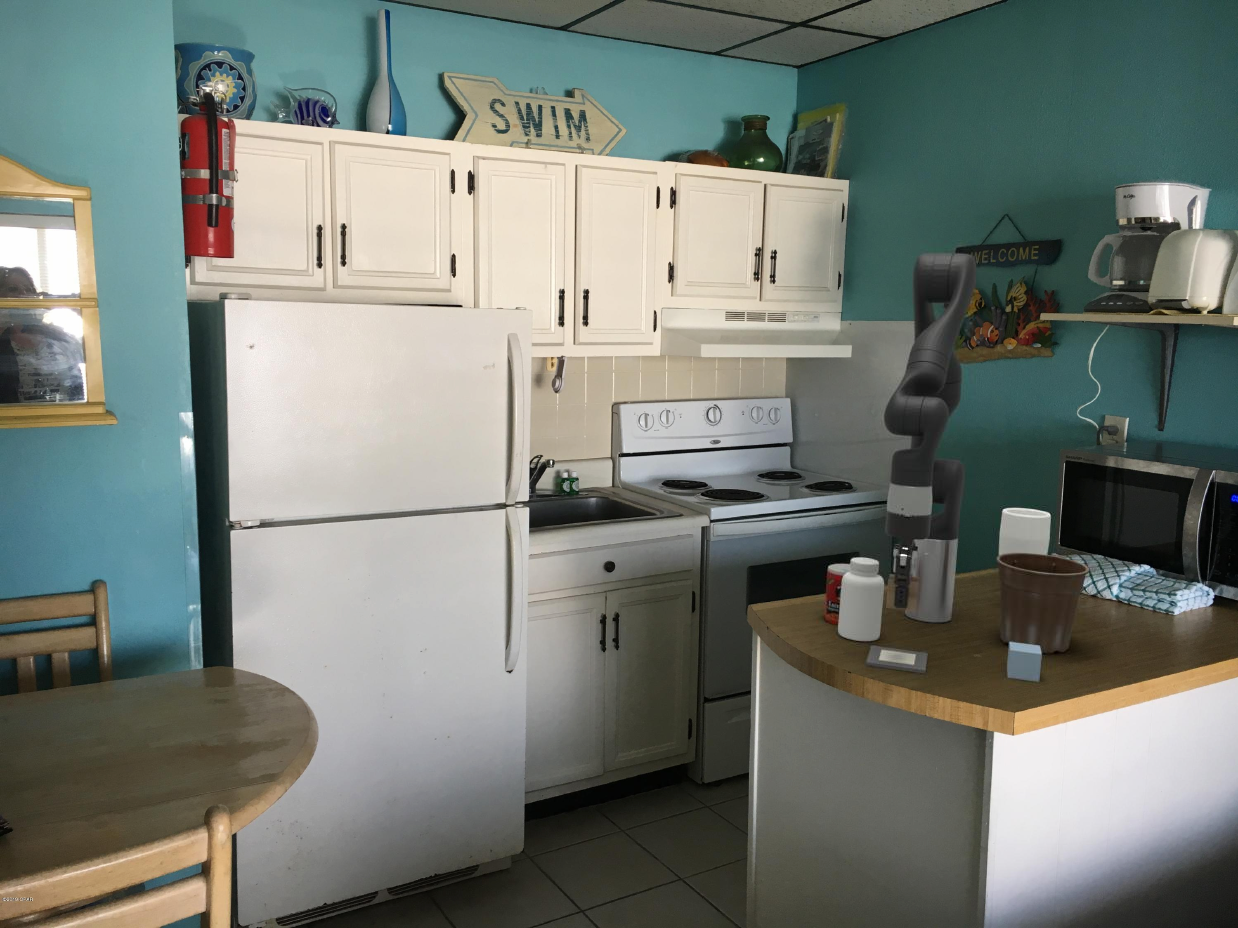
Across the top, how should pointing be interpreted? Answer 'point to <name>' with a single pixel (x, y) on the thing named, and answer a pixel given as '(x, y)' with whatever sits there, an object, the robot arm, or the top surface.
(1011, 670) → the blue block
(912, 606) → the walnut block
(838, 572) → the canned food
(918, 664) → the mat
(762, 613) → the top surface
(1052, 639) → the plant pot
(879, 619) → the pill bottle
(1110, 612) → the top surface
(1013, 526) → the cup
